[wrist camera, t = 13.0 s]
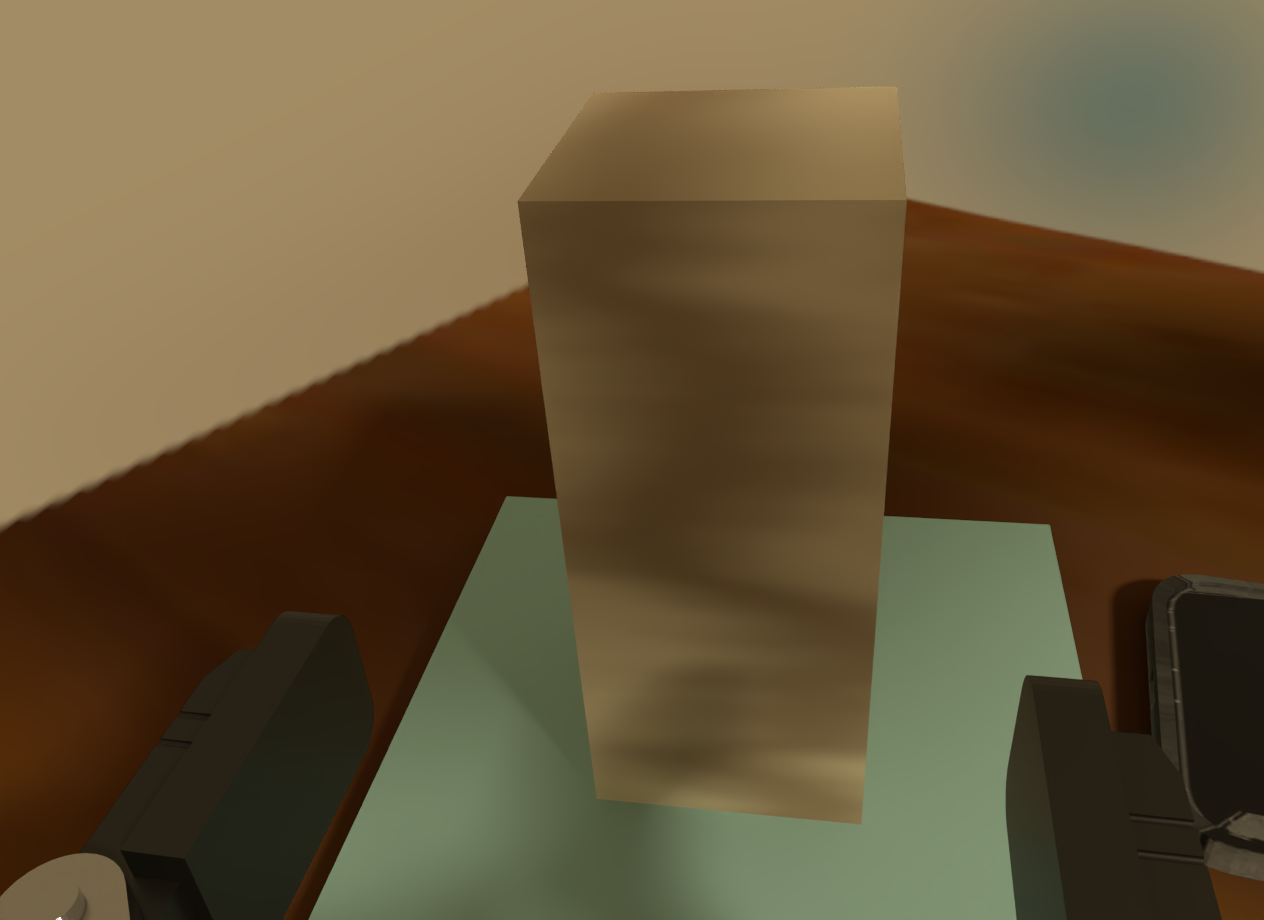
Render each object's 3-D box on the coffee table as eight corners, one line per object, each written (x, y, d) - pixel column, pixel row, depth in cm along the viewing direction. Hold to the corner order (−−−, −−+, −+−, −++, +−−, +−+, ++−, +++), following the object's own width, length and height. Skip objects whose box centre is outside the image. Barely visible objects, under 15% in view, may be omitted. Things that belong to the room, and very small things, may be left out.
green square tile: (1044, 556, 28) (1049, 525, 27) (1159, 1146, 16) (1173, 1113, 16) (511, 525, 30) (506, 496, 30) (293, 1015, 19) (279, 982, 18)
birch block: (861, 637, 24) (896, 86, 18) (861, 824, 20) (906, 200, 14) (639, 622, 25) (593, 93, 19) (596, 798, 21) (517, 201, 14)
